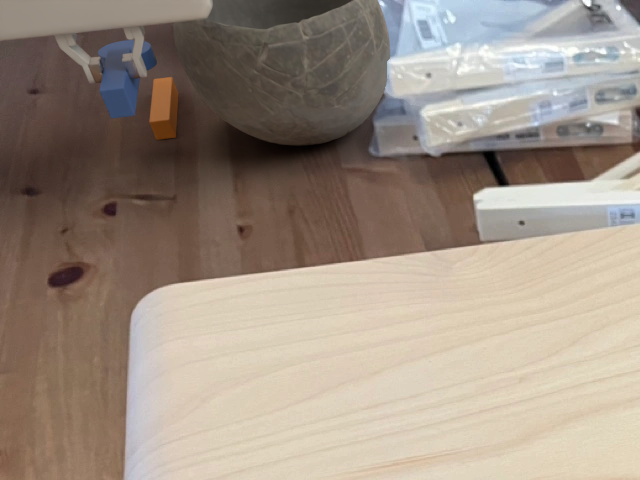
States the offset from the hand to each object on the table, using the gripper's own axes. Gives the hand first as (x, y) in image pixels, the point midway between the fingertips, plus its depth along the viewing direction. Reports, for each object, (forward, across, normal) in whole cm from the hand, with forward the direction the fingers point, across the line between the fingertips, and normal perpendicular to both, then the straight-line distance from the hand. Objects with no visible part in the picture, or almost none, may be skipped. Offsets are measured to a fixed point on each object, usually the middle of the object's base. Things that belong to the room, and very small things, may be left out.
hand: (119, 78), depth 94 cm
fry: (+11, 0, -18) cm, 21 cm away
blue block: (+2, 0, -3) cm, 3 cm away
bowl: (+11, -15, -9) cm, 21 cm away
